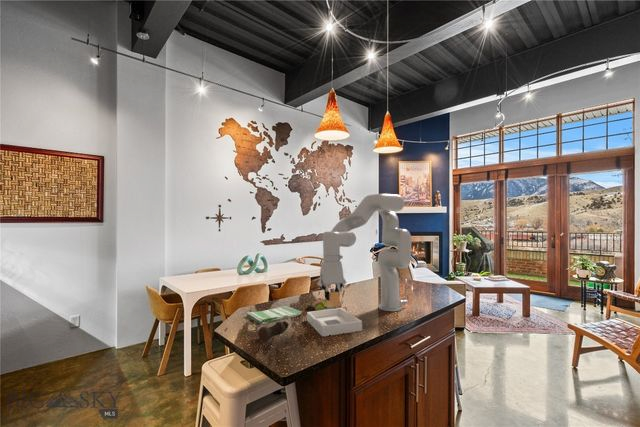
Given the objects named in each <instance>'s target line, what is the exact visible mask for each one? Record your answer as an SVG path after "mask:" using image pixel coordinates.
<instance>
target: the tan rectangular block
mask: <svg viewBox="0 0 640 427" xmlns="http://www.w3.org/2000/svg"><path fill="white" fill-rule="evenodd" d="M339 292H340V291H339ZM339 292H335V289H334V288H330V289H329V300H326V301H327V307H334V306H336V307H340V306H341V298H340V297H339Z"/></svg>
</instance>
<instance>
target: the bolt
mask: <svg viewBox="0 0 640 427" xmlns="http://www.w3.org/2000/svg"><path fill="white" fill-rule="evenodd" d="M288 328H289V323H288V322H287V321H280V320H278V321H275V324H273V325H272V326H269V327H268V326H261V327H260V328H259V329H258V333H257V334H258V338H259V339H260V341H264V342H267V341H269V339H270V338H271V336H273V335H275V334H277V333H278V334H282V333H284V332H285V330H286V329H288Z"/></svg>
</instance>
